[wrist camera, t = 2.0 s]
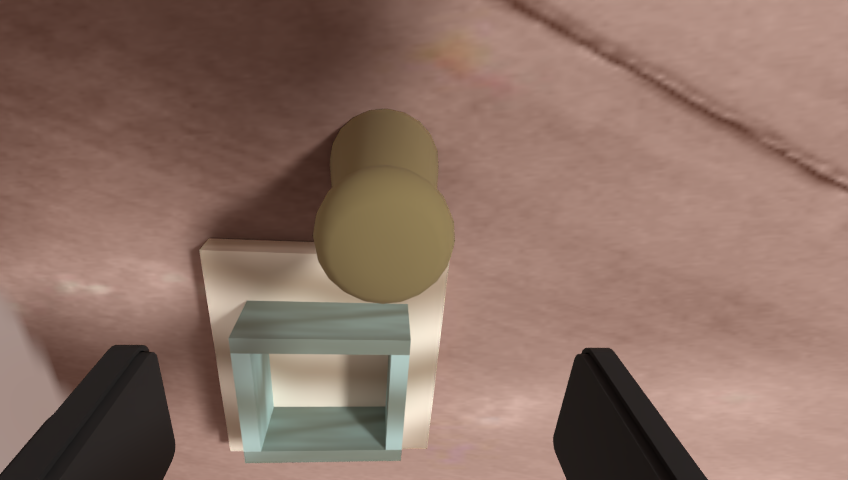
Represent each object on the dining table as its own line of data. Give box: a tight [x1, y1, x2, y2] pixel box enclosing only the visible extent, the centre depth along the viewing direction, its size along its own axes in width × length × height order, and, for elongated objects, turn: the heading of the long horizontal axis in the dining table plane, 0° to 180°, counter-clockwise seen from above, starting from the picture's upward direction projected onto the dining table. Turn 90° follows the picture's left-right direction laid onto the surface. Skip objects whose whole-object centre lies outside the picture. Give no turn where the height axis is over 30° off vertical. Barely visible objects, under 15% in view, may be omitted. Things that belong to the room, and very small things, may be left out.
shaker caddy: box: [199, 238, 449, 463], centre depth 28 cm, size 16×14×5 cm
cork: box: [313, 109, 455, 304], centre depth 20 cm, size 6×6×11 cm
